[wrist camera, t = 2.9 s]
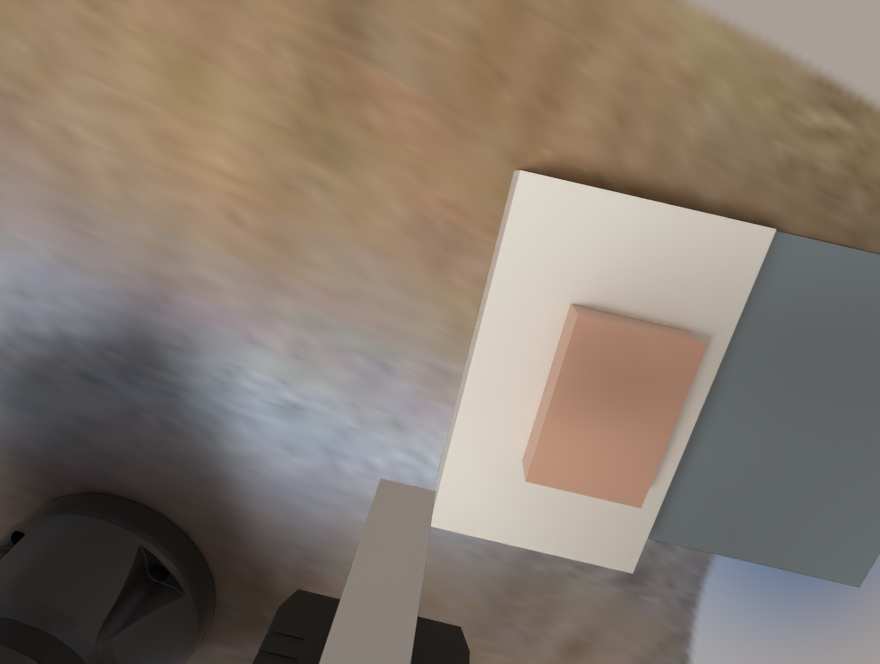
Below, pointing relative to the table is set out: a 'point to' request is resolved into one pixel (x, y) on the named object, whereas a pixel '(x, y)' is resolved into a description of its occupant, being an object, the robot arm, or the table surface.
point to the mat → (791, 423)
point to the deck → (536, 339)
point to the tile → (610, 405)
